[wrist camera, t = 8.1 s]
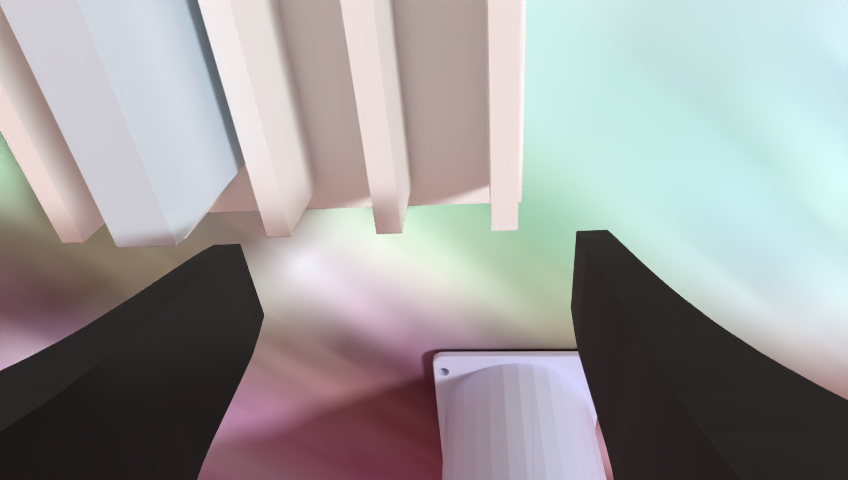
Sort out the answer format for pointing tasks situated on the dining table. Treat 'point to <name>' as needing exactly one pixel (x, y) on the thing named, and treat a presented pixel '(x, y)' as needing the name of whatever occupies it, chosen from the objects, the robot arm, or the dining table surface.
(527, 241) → the dining table surface
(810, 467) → the robot arm
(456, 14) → the dish rack
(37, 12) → the plate tile
